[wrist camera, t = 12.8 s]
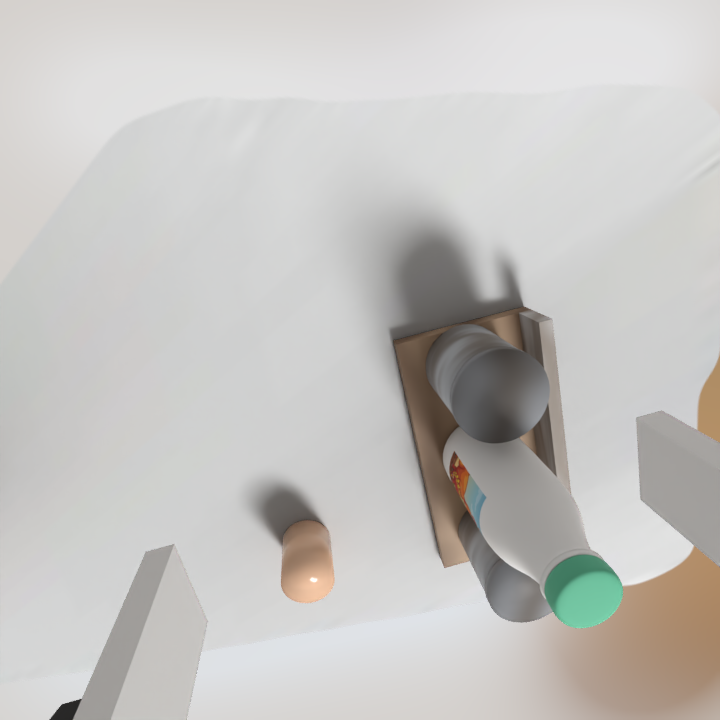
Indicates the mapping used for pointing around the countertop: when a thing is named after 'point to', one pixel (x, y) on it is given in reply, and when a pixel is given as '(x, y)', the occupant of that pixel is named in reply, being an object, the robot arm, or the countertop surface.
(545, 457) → the rack
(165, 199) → the countertop surface
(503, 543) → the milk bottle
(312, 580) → the peach rounded cylinder
